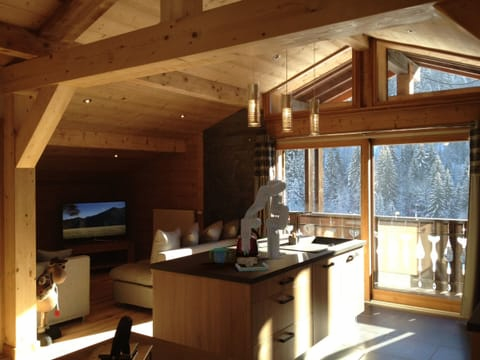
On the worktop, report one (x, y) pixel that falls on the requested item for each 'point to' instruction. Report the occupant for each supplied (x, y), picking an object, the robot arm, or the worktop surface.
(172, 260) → the worktop surface
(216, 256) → the snack cup
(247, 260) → the T block
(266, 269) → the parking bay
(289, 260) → the worktop surface
